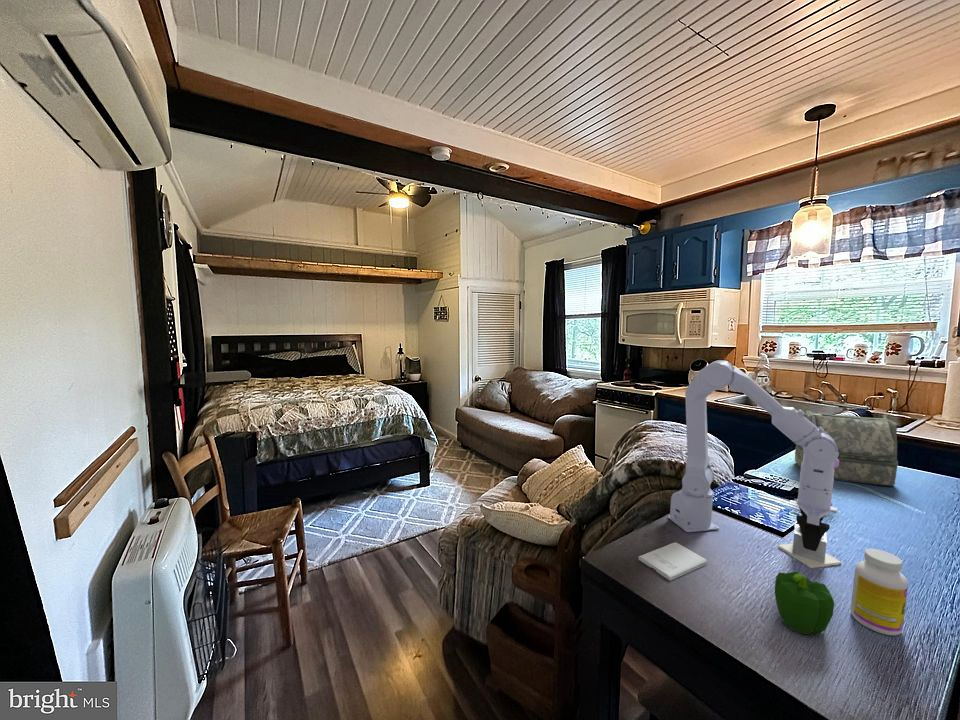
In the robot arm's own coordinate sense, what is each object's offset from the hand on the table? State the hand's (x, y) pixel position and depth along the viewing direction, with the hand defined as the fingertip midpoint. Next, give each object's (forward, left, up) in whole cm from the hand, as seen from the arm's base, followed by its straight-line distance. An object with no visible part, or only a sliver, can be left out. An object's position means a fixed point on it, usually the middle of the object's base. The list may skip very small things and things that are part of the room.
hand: (809, 541), depth 90 cm
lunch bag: (+59, +39, -4) cm, 71 cm away
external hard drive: (-33, +3, -4) cm, 33 cm away
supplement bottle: (-8, -19, -4) cm, 21 cm away
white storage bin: (0, 0, -3) cm, 3 cm away
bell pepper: (-22, -17, -4) cm, 28 cm away
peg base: (0, 0, -3) cm, 3 cm away
